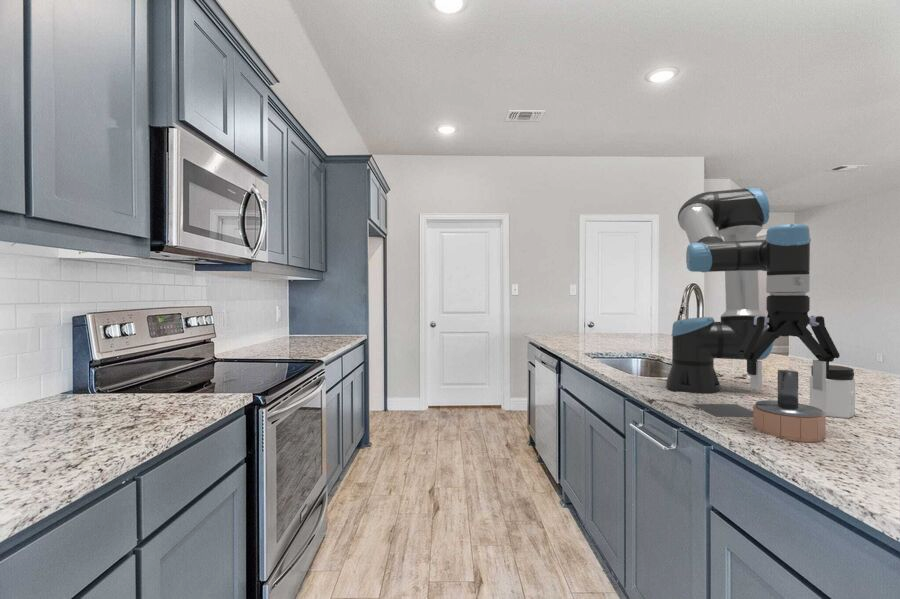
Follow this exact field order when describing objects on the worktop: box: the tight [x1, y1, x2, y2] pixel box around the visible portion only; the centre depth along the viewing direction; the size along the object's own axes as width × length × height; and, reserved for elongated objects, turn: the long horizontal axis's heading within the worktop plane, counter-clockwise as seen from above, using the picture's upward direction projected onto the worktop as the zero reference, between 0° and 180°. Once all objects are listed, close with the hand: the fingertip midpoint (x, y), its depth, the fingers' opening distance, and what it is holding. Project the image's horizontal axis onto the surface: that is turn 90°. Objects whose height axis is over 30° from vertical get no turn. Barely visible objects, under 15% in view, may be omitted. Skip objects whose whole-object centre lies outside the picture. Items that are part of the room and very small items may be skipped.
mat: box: [691, 403, 753, 418], centre depth 110 cm, size 12×12×1 cm
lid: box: [755, 369, 823, 418], centre depth 94 cm, size 12×12×9 cm
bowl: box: [752, 403, 827, 443], centre depth 94 cm, size 12×12×5 cm
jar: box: [809, 364, 856, 419], centre depth 108 cm, size 9×8×12 cm
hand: (787, 389), depth 94 cm, fingers open, 13 cm apart
